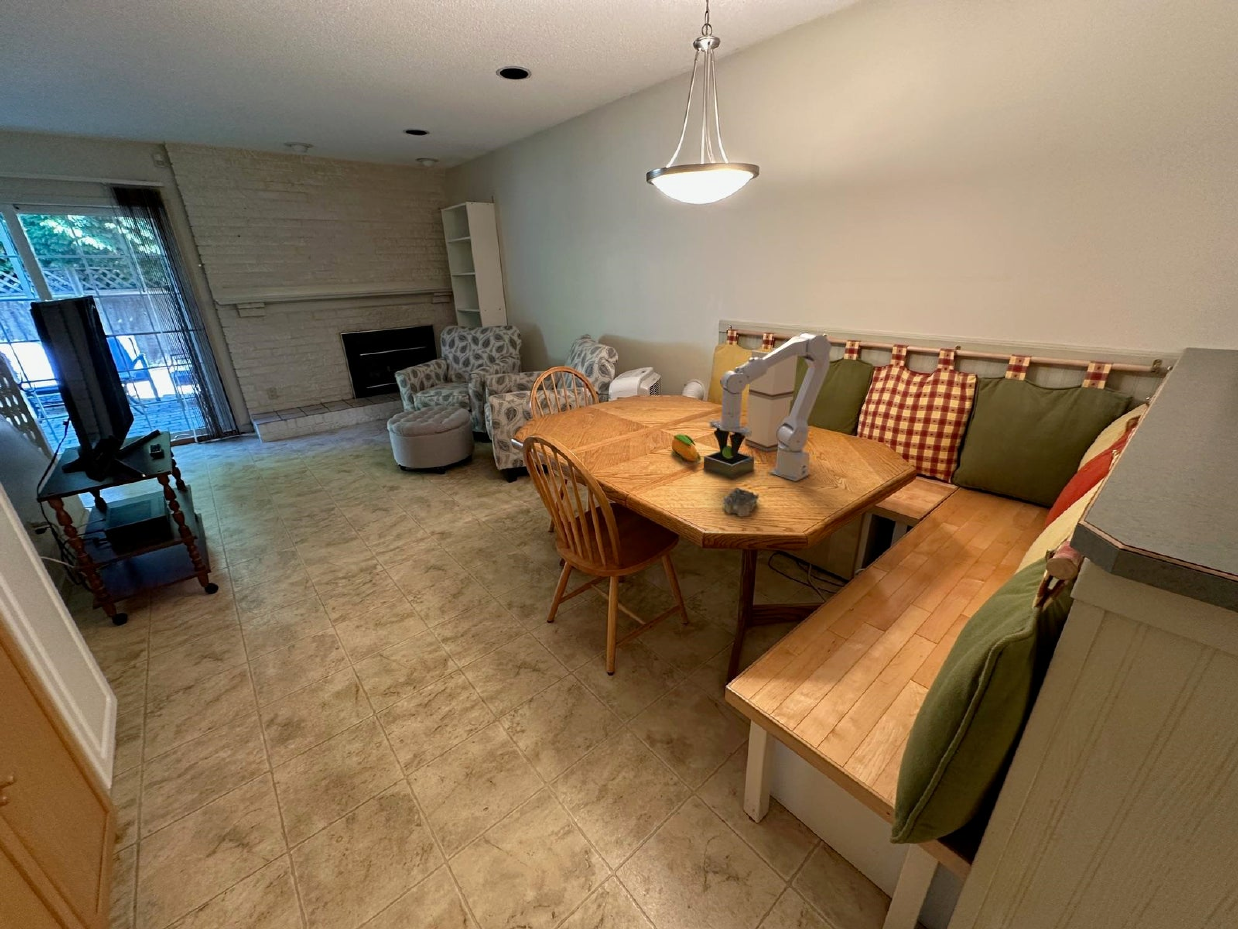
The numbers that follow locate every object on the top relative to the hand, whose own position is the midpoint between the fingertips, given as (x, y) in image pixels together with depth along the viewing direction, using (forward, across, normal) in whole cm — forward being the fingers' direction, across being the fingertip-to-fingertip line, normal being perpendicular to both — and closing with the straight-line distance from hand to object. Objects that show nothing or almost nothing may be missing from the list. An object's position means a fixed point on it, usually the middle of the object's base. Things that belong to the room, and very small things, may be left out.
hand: (728, 453), depth 149 cm
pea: (+1, 0, 0) cm, 1 cm away
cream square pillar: (+9, -10, +36) cm, 38 cm away
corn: (+8, -21, +4) cm, 23 cm away
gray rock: (+8, +16, -14) cm, 23 cm away
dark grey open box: (+8, -4, +6) cm, 11 cm away
